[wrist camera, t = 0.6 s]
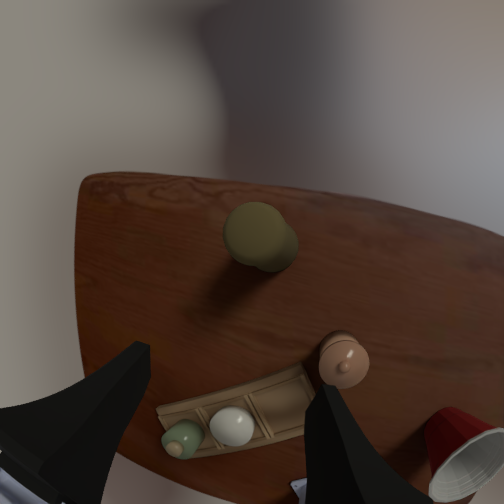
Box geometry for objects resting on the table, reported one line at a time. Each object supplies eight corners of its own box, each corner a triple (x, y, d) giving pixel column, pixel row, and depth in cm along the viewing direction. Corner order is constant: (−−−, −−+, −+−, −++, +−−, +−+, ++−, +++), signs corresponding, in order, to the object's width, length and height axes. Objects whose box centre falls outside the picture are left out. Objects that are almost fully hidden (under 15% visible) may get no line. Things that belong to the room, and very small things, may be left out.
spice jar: (365, 357, 28) (377, 378, 21) (327, 375, 29) (329, 400, 22) (350, 321, 29) (360, 334, 22) (311, 339, 30) (310, 357, 23)
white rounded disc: (262, 433, 29) (259, 441, 27) (226, 441, 29) (221, 449, 27) (244, 400, 29) (240, 407, 28) (208, 410, 30) (202, 417, 28)
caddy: (328, 420, 28) (328, 427, 26) (188, 454, 32) (183, 460, 30) (301, 361, 30) (300, 366, 28) (159, 405, 33) (153, 410, 31)
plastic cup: (395, 420, 26) (422, 475, 14) (464, 375, 25) (512, 408, 13) (414, 467, 24) (436, 518, 13) (476, 426, 23) (513, 464, 11)
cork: (241, 266, 32) (205, 262, 21) (251, 215, 32) (221, 187, 22) (292, 277, 31) (282, 278, 20) (303, 224, 31) (297, 198, 20)
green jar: (210, 442, 30) (195, 462, 25) (184, 446, 31) (168, 464, 25) (195, 416, 31) (177, 434, 25) (169, 421, 31) (150, 438, 26)
